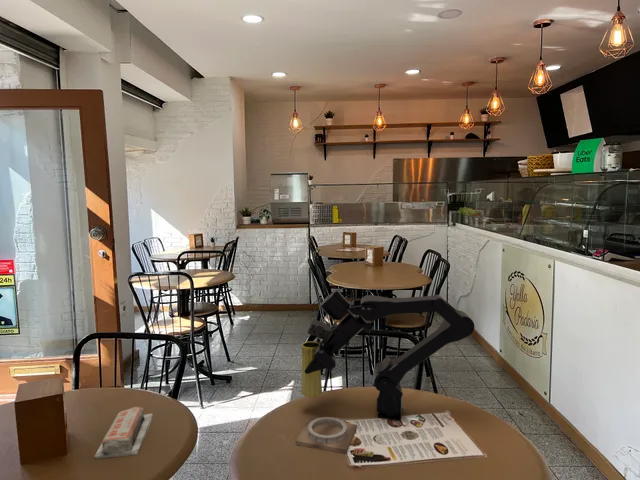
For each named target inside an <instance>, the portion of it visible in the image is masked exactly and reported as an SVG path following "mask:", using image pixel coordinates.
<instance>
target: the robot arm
mask: <svg viewBox="0 0 640 480" xmlns="http://www.w3.org/2000/svg"><path fill="white" fill-rule="evenodd" d="M319 308H320V309H322V311H324V313H325V314H326V315H328V317H329V318H330V319H332V320H333V321H339V322H338V323H337V324H333V325H331V326H329V325H327V324H326V323H324V322H321V321H320V320H317V319H312V321H311V323H310V325H309V326H308V329H307V333H308V335H310V336H313V337H315V338H316V342H318V343H320V346H319V347H318V348H317V349H316V350H314V358H313V360H312V361H311V362H310V364H309V365H308V366H307V368H306V369H305V371H304V372H305V373H306V374H309V373H312V372H315V371H318V370H321V371H322V370H325V369H327V370H328V371H330V372H332V371H333V370H334V369H335V368H336V366H337V357H338V356H339V355H340V352H341V350H342V349H343V348H344V347H346V346H347V347H348V346H349V345H350V344H351V343H350V341H352V340H353V339H354V338H355V337H356V336H357V335H358V334H359V333H360V332H361V331H362V330H363V329H364V331H366V333H367V334H370V333H371V324H372V323H371V322H372V321H376V320H379V319H380V320H381V319H384V318H386V317H389V316H392V315H401V314H417V313H418V314H419V313H437V314H438V315H439V316H440V317H442V318H443V319H444V320H443V321H442V322H441V324H440V326H439V327H438V328H437V329H436V330H435V331H433V332H431V334H430V335H428V336H426V337H425V338H424V339H422V340H421V341H420V342H418V343H417V344H415V345H414V346H412V347H411V348H409V349H408V350H407V351H405V352H403V354H402V355H400V356H398V357H397V358H393V359H390V357H389V356H386V357H384V359H382V361H380V362H377V363H376V366H375V367H374V369H373V374H372V375H373V376H372V377H373V384H374V387H375V389H376V390H377V391H378V392H379V393H378V395H377V398H376V413H377V418H379V419H385V420H392V421H398V422H399V421H401V420H402V417H403V412H404V408H403V390H402V384H401V382H402V379H404V376H405V375H406V374H407V373H408V372H410V371H411V370H412V369H414V368H416V367H417V366H418V365H420V364H421V363H422V362H424V361H425V360H427V359H428V358H429V357H431V356H433V354H435V353H437V352H438V351H440V350H441V349H442V348H443V347H445V346H446V345H448V344H452V343H456V342H459V341H462V340H464V339H466V338H469V337H470V336H471V335H473V334H474V331H475V323H474V321H473V320H472V318H471V317H470V316H469V315H468V314H467V313H466V311H463V310H458V309H456V308H455V307H453V305H451V304H449V303H448V302H447V301H446V300H445V299H444V298H443V297H442V296H441V295H439V294H434V295H430V296H429V295H425V296H423V295H422V296H411V297H409V296H408V297H395V298H391V297H385V296H378V295H373V294H368V295H365V296H363V297H362V298H360V299H354V300H351V299H350V300H347V298H346V297H344V295H342V293H341V291H339V290H338V289H336V290H334V292H331V293H330V294H329V295H327V296H326V297H325V298H324V299H323V300H322V301H321V302H320V304H319Z"/></svg>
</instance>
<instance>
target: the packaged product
mask: <svg viewBox="0 0 640 480" xmlns="http://www.w3.org/2000/svg"><path fill="white" fill-rule="evenodd" d="M144 411H145V409H144V407H140V406H134V407H133V406H132V407H131V408H127V409H123V410H122V411H119V412H118V413H117V414H116V416H115V418H114V419H113V421H112V423H111V425H110V427H109V428H108V431H107V432H106V434H105V436H104V437H103V439H102V441H101V444H100V446H99V447H98V449H97V451H96V453H95V454H94V456H93V457H94V459H106V458H107V459H108V458H117V457H127V456H137V455H139V451H140V448H141V446H142V445H143V443H144V440H145V438H146V436H147V434H148V431H149V429H150V425H151V423H152V421H153V413H146V414H144Z"/></svg>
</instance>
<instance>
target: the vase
mask: <svg viewBox="0 0 640 480" xmlns="http://www.w3.org/2000/svg"><path fill="white" fill-rule="evenodd" d="M319 346H320V343H318V342H317V341H311V340H310V341H305V342H303V343H302V344H301V391H300V393H301V395H302V396H304V397H307V398H317V397H319V396H321V395H322V394H323V387H322V386H323V385H322V372H321V371H322V370H318V371H315V372H312V373H309V374H306V373H305V372H304V371H305V369H306V368H307V366H308V365H309V364H310V362H311V361H312V360H313V358H314V350H316V349H317V348H318V347H319Z"/></svg>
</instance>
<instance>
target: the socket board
mask: <svg viewBox="0 0 640 480" xmlns="http://www.w3.org/2000/svg"><path fill="white" fill-rule="evenodd" d="M357 429H358V424H357V423H356V424H355V423H350V422H345V421H343V420H341V418H337V417H331V416H324V417H323V416H322V417H310V418H308V421H307V423H306V425H304V427H303V429H302V430H301V432H300V433H299V435H298V437H296V440H295V445H296V446H301V447H308V448H313V449H318V450H323V451H330V452H334V453H339V454H340V453H341V454H347V453H348V451H349V448H350V446H351V443H352V441H353V438H354V436H355V433H356V431H357Z"/></svg>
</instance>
